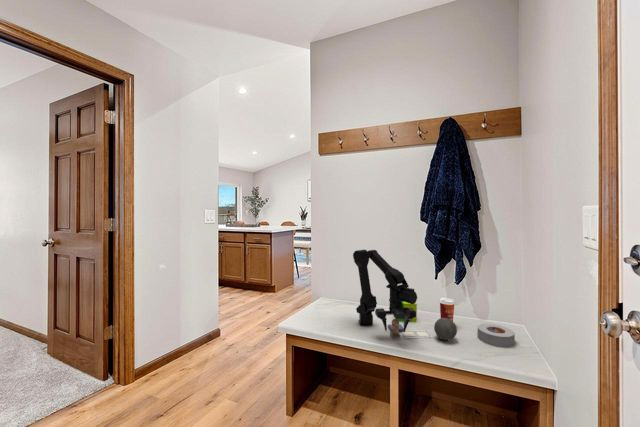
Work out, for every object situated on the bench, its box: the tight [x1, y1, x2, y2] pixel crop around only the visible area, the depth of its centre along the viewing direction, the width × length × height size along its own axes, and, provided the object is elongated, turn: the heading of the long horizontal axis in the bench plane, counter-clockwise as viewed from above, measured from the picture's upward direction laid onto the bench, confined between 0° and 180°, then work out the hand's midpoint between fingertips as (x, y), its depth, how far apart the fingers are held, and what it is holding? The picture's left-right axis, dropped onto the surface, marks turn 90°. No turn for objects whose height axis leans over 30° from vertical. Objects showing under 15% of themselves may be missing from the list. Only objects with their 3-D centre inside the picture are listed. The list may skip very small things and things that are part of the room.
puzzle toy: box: [397, 301, 418, 323], centre depth 174 cm, size 10×10×10 cm
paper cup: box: [439, 297, 456, 322], centre depth 163 cm, size 8×8×14 cm
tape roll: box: [477, 323, 516, 348], centre depth 147 cm, size 15×15×5 cm
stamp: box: [389, 318, 402, 340], centre depth 150 cm, size 4×4×9 cm
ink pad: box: [387, 323, 406, 334], centre depth 159 cm, size 7×7×2 cm
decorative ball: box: [433, 317, 458, 341], centre depth 148 cm, size 10×10×10 cm
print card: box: [400, 329, 433, 339], centre depth 153 cm, size 13×8×1 cm, turn 94°
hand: (395, 330), depth 150 cm, fingers open, 9 cm apart
